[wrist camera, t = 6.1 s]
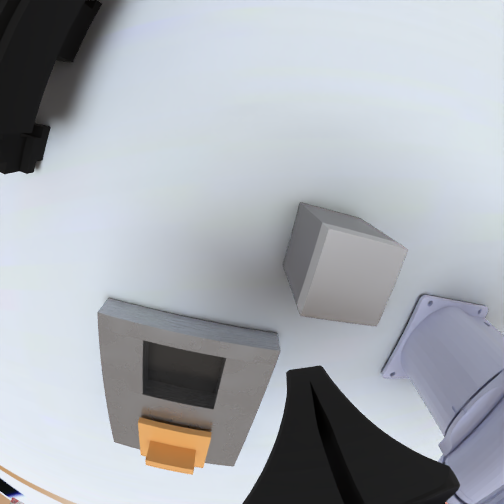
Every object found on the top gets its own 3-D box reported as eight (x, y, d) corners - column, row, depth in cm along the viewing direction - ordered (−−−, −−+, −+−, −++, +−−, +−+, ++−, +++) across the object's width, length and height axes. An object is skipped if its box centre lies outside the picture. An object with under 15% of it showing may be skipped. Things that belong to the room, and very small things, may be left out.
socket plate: (277, 333, 20) (280, 351, 18) (233, 451, 25) (233, 466, 23) (108, 297, 19) (97, 312, 17) (119, 427, 24) (114, 441, 22)
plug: (359, 218, 17) (408, 249, 12) (340, 276, 19) (376, 326, 13) (299, 202, 17) (328, 228, 11) (282, 264, 18) (300, 315, 13)
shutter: (211, 432, 20) (209, 459, 18) (203, 463, 22) (201, 486, 20) (139, 417, 20) (131, 442, 17) (142, 450, 22) (136, 472, 19)
